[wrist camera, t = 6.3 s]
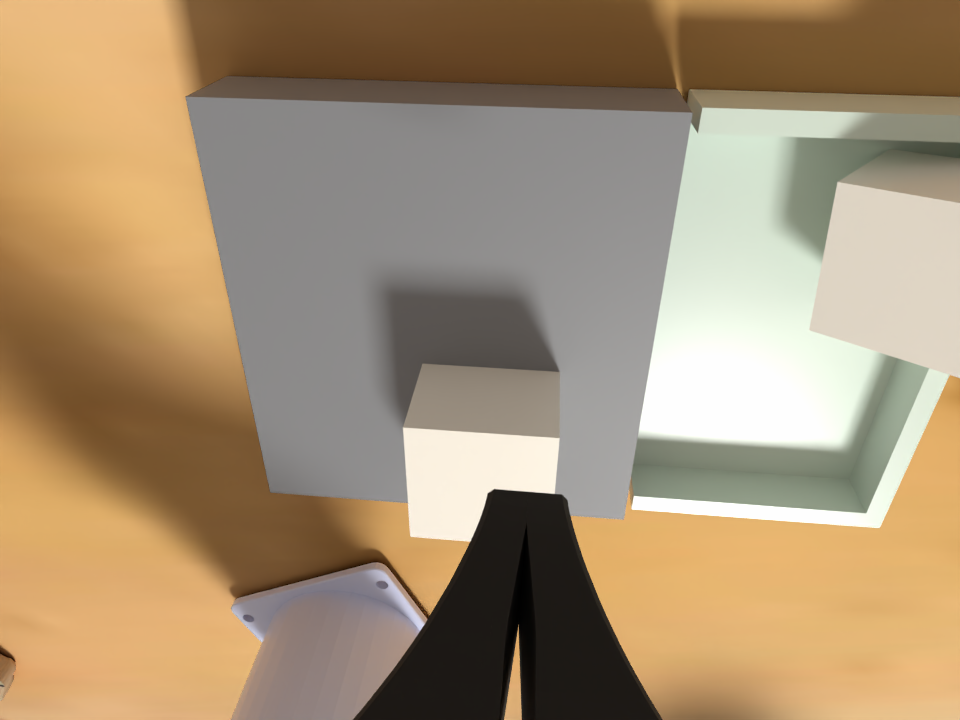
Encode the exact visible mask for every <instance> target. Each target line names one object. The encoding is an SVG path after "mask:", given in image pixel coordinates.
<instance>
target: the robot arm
mask: <svg viewBox="0 0 960 720" xmlns="http://www.w3.org/2000/svg"><path fill="white" fill-rule="evenodd" d="M231 610H232V612H233V613H234V614H235V615H236V616H237V617H238V618H239V619H240V620H241V622H242V623H243V624H244V625H245V626H246V627H247V628H248V629H249V630H250V631H251V632H252V633H253V634H254V635H255V636H256V637H257V638H258V639H259V640H260V641H261V642H262V644H261V647H260V649H259V652H258V654H257V656H256V659H255V661H254V664H253V666H252V669H251V671H250V674H249V676H248V678H247V681H246V683H245V686H244V688H243V691H242V693H241V696H240V698H239V701H238V703H237V705H236V708H235V710H234V713H233V715H232V718H231V720H504V716H505V709H506V703H507V696H508V690H509V683H510V677H511V670H512V664H513V657H514V651H515V644H516V637H517V631H518V624H519V649H520V678H521V706H522V720H662V718H661V716H660V715H659V713H658V711H657V710H656V708H655V706H654V705H653V703H652V702H651V700H650V698H649V697H648V695H647V693H646V691H645V690H644V688H643V686H642V684H641V683H640V681H639V679H638V677H637V675H636V674H635V672H634V670H633V668H632V666H631V665H630V663H629V661H628V659H627V657H626V655H625V653H624V651H623V649H622V647H621V645H620V643H619V641H618V639H617V637H616V635H615V633H614V631H613V629H612V627H611V625H610V622H609V620H608V618H607V616H606V614H605V612H604V609H603V607H602V605H601V603H600V600H599V598H598V595H597V593H596V590H595V588H594V585H593V583H592V580H591V578H590V576H589V573H588V571H587V568H586V565H585V562H584V560H583V557H582V554H581V551H580V548H579V545H578V542H577V539H576V535H575V532H574V528H573V525H572V521H571V516H570V512H569V507H568V500H567V499H566V498H565V497H564V496H563V495H562V494H550V493H538V492H525V491H513V490H500V489H493V490H492V491H490V492H489V493H488V494H487V498H486V502H485V506H484V509H483V512H482V515H481V517H480V520H479V523H478V525H477V528H476V530H475V532H474V535H473V537H472V539H471V541H470V544H469V546H468V548H467V550H466V552H465V554H464V556H463V558H462V560H461V562H460V564H459V566H458V568H457V569H456V571H455V573H454V575H453V577H452V579H451V581H450V583H449V585H448V586H447V588H446V590H445V591H444V593H443V595H442V596H441V598H440V600H439V601H438V603H437V605H436V606H435V608H434V610H433V611H432V613H431V615H430V616H429V618H428V619H427V618H426V617H425V616H424V614H423V613H422V612H421V610H420V609H419V608H418V606H417V605H416V604H415V602H414V601H413V600H412V598H411V597H410V596H409V595H408V593H407V592H406V591H405V589H404V588H403V587H402V585H401V584H400V583H399V581H398V580H397V579H396V577H395V576H394V575H393V574H392V572H391V571H390V570H389V568H388V567H387V566H386V565H384V564H382V563H378V562H374V563H369V564H366V565H362V566H358V567H354V568H350V569H347V570H343V571H339V572H335V573H331V574H328V575H324V576H320V577H316V578H312V579H308V580H305V581H301V582H297V583H293V584H289V585H286V586H282V587H278V588H274V589H270V590H267V591H263V592H259V593H255V594H251V595H248V596H244V597H240V598H237V599H235V601H234V602H233V605H232V607H231Z"/></svg>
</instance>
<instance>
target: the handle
mask: <svg viewBox="0 0 960 720" xmlns="http://www.w3.org/2000/svg"><path fill="white" fill-rule="evenodd" d="M15 670H16V665H15V662H14V661H13V660H12V659H11V658H8V657H5V656H3V655H1V654H0V701H1V700H3V698H4V697H5V695H6V693H7V692H8V690H9V688H10V686H11V684H12V682H13V680H14V675H13V674H14V672H15Z"/></svg>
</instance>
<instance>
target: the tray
mask: <svg viewBox="0 0 960 720" xmlns="http://www.w3.org/2000/svg"><path fill="white" fill-rule="evenodd" d="M687 105H688V106H689V108H690V109H691V111H692V112H693V114H692V120H691V126H690V132H689V138H688V144H687V149H686V155H685V161H684V167H683V173H682V179H681V185H680V191H679V197H678V203H677V208H676V214H675V220H674V226H673V232H672V238H671V244H670V250H669V256H668V262H667V267H666V273H665V279H664V285H663V291H662V297H661V303H660V309H659V315H658V320H657V326H656V332H655V338H654V344H653V350H652V356H651V362H650V368H649V374H648V379H647V385H646V391H645V397H644V403H643V409H642V415H641V421H640V427H639V433H638V438H637V444H636V450H635V456H634V462H633V468H632V474H631V480H630V486H629V491H630V499H631V508H632V509H635V510H648V511H661V512H675V513H688V514H701V515H714V516H727V517H741V518H754V519H767V520H780V521H793V522H807V523H820V524H833V525H846V526H860V527H873V528H880V526H881V524H882V522H883V520H884V517H885V515H886V513H887V511H888V509H889V506H890V504H891V502H892V500H893V498H894V495H895V493H896V491H897V489H898V487H899V484H900V482H901V480H902V478H903V476H904V474H905V471H906V469H907V467H908V465H909V463H910V460H911V458H912V456H913V454H914V452H915V449H916V447H917V445H918V443H919V441H920V438H921V436H922V434H923V432H924V430H925V427H926V425H927V423H928V421H929V419H930V417H931V414H932V412H933V410H934V408H935V406H936V403H937V401H938V399H939V397H940V395H941V392H942V390H943V388H944V386H945V384H946V381H947V379H948V377H949V374H946V373H942V372H939V371H936V370H933V369H930V368H927V367H923V366H920V365H917V364H914V363H911V362H908V361H905V360H901V359H898V358H895V357H892V356H889V355H886V354H883V353H879V352H876V351H873V350H870V349H867V348H864V347H860V346H857V345H854V344H851V343H848V342H845V341H842V340H838V339H835V338H832V337H829V336H826V335H823V334H819V333H816V332H813V331H810V330H809V328H810V323H811V317H812V312H813V307H814V302H815V297H816V291H817V286H818V281H819V276H820V271H821V265H822V260H823V255H824V250H825V245H826V239H827V234H828V229H829V224H830V219H831V213H832V208H833V203H834V198H835V193H836V187H837V182H838V181H840V180H841V179H843V178H845V177H846V176H848V175H849V174H851V173H853V172H854V171H856V170H857V169H859V168H861V167H862V166H864V165H865V164H867V163H868V162H870V161H872V160H873V159H875V158H876V157H878V156H880V155H881V154H883V153H884V152H886V151H887V150H889V149H894V150H901V151H909V152H916V153H923V154H931V155H938V156H946V157H953V158H960V97H945V96H911V95H876V94H842V93H807V92H772V91H738V90H703V89H689V94H688V100H687Z"/></svg>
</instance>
